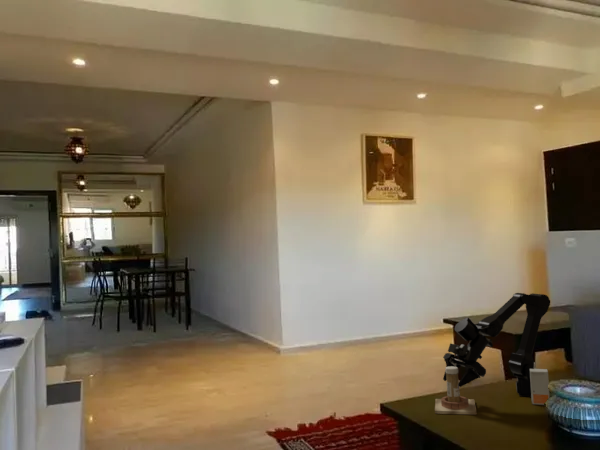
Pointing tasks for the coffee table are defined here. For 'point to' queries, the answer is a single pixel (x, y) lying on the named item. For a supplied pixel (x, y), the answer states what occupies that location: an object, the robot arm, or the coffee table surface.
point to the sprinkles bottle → (452, 384)
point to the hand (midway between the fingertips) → (451, 383)
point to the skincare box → (539, 386)
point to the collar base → (455, 406)
